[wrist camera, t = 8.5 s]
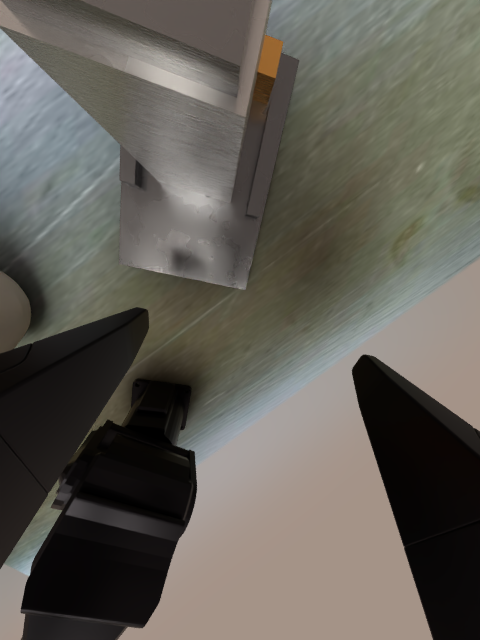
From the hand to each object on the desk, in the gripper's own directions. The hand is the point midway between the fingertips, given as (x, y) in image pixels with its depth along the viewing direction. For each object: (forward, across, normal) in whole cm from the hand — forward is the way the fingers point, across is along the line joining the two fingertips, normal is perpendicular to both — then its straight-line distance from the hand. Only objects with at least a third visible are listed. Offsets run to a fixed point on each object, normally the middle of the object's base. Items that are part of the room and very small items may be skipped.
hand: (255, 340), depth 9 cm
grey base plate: (+14, +6, -5) cm, 16 cm away
